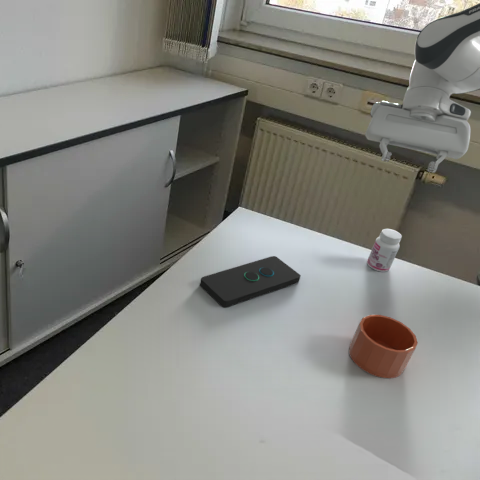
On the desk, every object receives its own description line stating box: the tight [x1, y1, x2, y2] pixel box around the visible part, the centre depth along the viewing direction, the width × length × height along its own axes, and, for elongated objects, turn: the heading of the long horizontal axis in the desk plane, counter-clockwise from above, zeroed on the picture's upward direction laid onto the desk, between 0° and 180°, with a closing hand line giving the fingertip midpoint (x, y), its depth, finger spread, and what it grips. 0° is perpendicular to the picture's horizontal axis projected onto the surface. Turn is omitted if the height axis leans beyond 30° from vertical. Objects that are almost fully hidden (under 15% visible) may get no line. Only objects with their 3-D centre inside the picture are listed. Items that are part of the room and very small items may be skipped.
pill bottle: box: [366, 228, 403, 273], centre depth 115 cm, size 5×5×8 cm
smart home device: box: [199, 255, 302, 308], centre depth 108 cm, size 8×2×20 cm
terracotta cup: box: [348, 314, 419, 379], centre depth 91 cm, size 9×9×6 cm
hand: (408, 165), depth 117 cm, fingers open, 8 cm apart
